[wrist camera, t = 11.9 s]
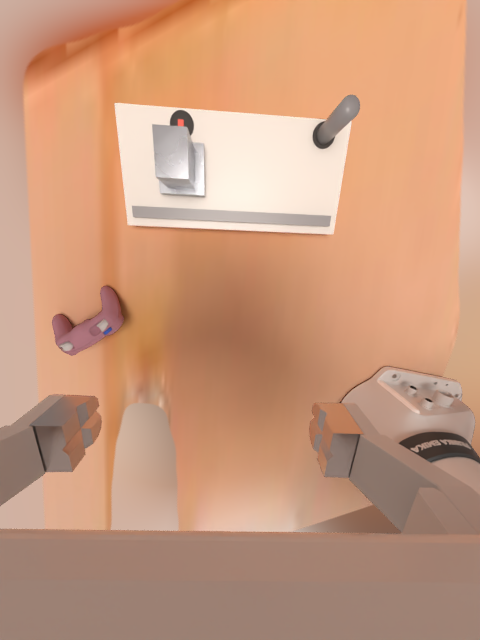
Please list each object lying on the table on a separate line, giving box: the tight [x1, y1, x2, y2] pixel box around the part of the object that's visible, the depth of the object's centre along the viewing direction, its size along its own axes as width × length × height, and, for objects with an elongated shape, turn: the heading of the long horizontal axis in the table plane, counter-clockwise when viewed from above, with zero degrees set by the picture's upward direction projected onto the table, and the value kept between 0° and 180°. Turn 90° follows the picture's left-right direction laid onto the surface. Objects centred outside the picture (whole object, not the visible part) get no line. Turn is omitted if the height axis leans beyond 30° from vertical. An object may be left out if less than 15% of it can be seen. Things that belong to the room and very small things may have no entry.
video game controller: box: [52, 286, 124, 356], centre depth 32 cm, size 10×5×7 cm, turn 119°
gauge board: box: [114, 95, 360, 235], centre depth 25 cm, size 26×12×8 cm, turn 88°
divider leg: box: [152, 119, 205, 197], centre depth 23 cm, size 5×7×6 cm
